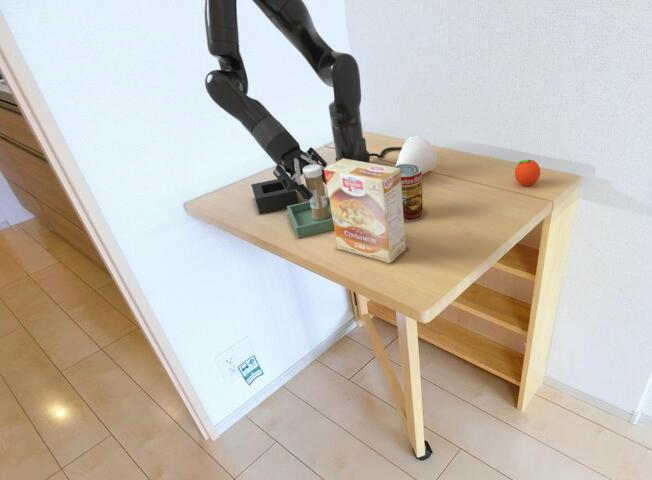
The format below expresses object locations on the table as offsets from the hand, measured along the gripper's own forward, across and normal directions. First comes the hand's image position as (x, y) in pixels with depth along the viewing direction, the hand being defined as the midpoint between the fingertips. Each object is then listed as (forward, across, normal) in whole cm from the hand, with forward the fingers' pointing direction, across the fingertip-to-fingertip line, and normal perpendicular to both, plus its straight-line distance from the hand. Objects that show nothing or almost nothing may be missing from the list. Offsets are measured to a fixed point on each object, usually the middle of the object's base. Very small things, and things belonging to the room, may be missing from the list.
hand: (321, 191), depth 110 cm
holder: (-9, +4, +20) cm, 22 cm away
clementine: (+35, +39, -23) cm, 57 cm away
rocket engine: (+11, +30, +1) cm, 32 cm away
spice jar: (+4, 0, +6) cm, 8 cm away
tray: (+5, 0, +7) cm, 8 cm away
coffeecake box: (+19, -8, -7) cm, 22 cm away
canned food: (+19, +11, -7) cm, 23 cm away
